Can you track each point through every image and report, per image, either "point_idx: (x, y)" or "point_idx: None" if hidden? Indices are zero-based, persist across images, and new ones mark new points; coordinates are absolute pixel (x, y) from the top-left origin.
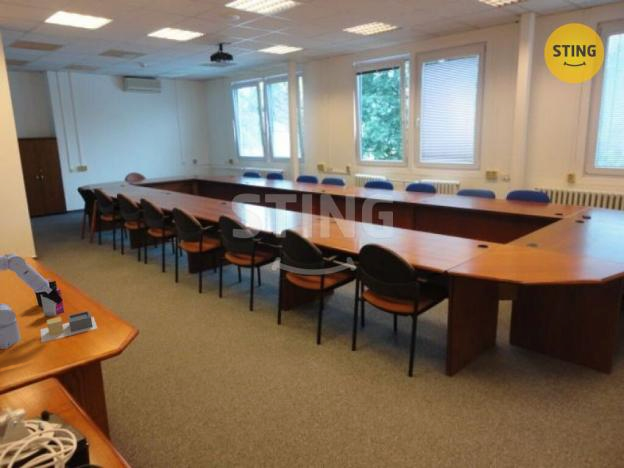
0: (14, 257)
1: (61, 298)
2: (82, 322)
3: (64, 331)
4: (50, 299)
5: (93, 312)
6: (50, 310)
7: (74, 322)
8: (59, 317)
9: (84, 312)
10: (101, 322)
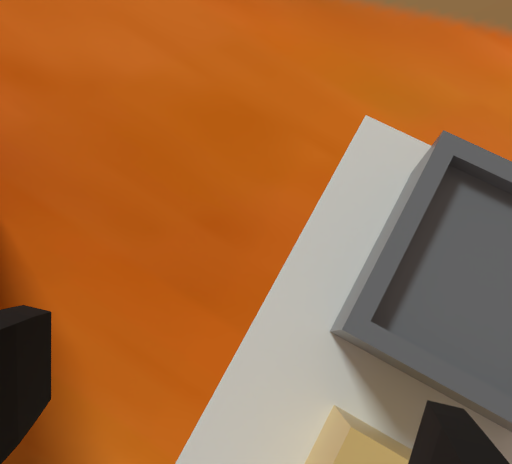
0: None
1: (484, 435)
2: None
3: None
4: (28, 425)
5: (233, 49)
6: None
7: None
8: (354, 449)
9: (439, 180)
10: (507, 143)
